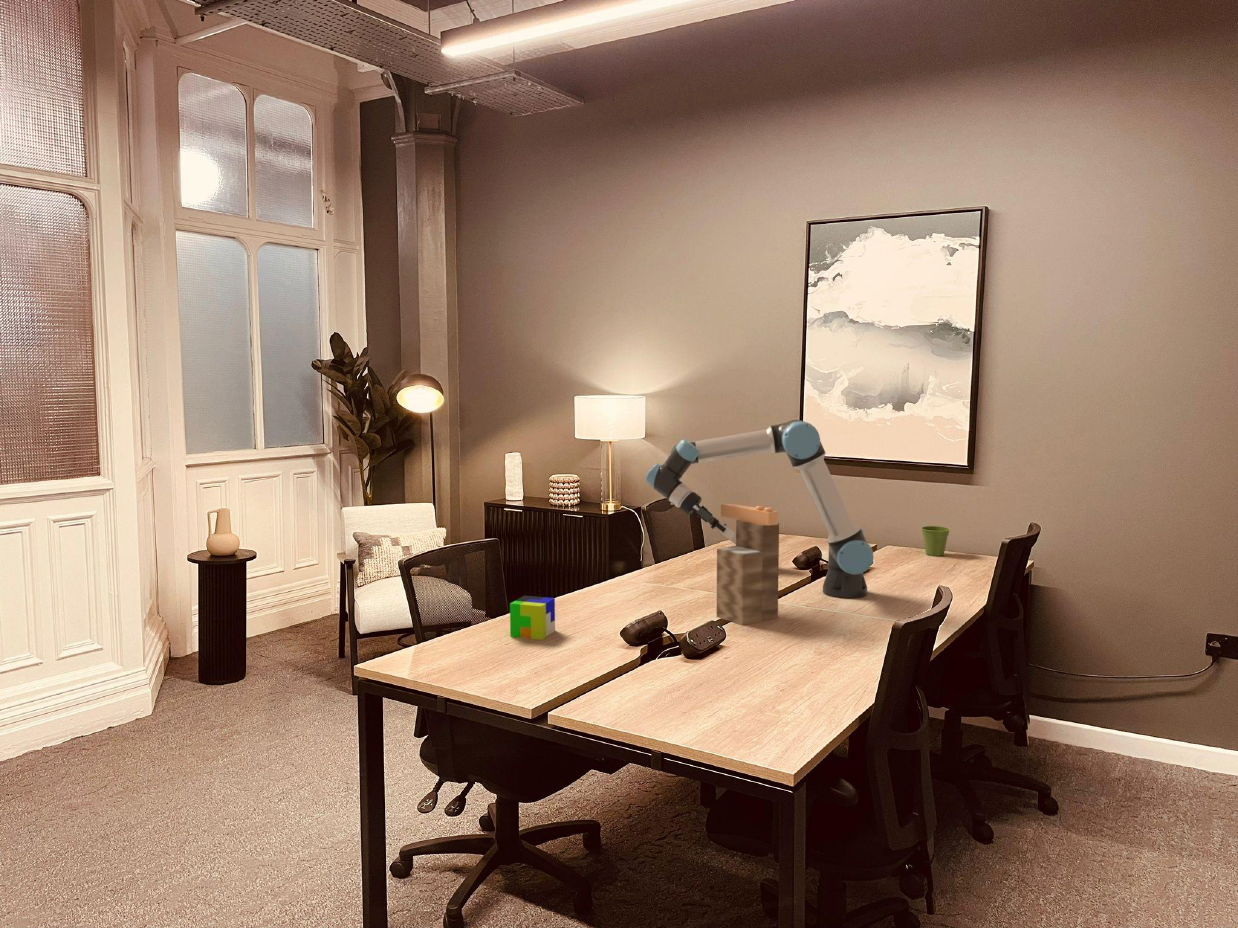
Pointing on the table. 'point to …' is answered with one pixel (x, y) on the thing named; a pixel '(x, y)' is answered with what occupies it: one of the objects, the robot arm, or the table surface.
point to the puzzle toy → (532, 617)
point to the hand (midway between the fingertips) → (736, 539)
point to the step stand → (749, 575)
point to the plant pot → (935, 539)
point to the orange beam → (750, 514)
